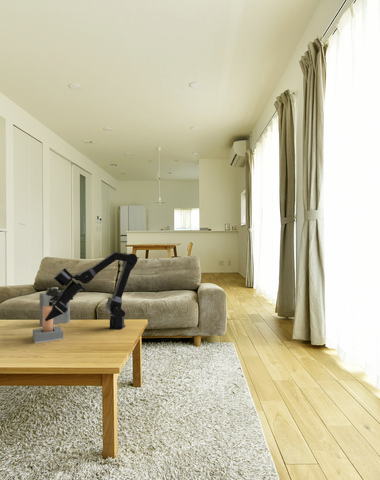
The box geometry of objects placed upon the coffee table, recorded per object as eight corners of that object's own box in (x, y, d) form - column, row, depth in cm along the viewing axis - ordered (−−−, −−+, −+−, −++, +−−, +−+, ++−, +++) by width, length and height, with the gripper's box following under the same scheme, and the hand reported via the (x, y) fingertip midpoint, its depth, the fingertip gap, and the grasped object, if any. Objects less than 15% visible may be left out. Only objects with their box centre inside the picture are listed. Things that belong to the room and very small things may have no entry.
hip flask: (40, 327, 164) (40, 289, 164) (38, 325, 167) (38, 288, 167) (70, 322, 175) (70, 286, 175) (68, 320, 178) (67, 285, 178)
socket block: (59, 333, 151) (59, 326, 151) (63, 339, 142) (63, 331, 142) (32, 337, 145) (32, 329, 145) (34, 343, 136) (34, 335, 136)
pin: (54, 336, 144) (55, 306, 145) (46, 338, 140) (46, 307, 141) (49, 335, 147) (49, 305, 147) (40, 337, 143) (40, 306, 143)
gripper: (53, 279, 154) (28, 304, 148) (59, 283, 138) (32, 311, 132) (70, 294, 158) (46, 319, 152) (78, 299, 142) (52, 327, 136)
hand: (44, 318), depth 143 cm, fingers open, 9 cm apart
